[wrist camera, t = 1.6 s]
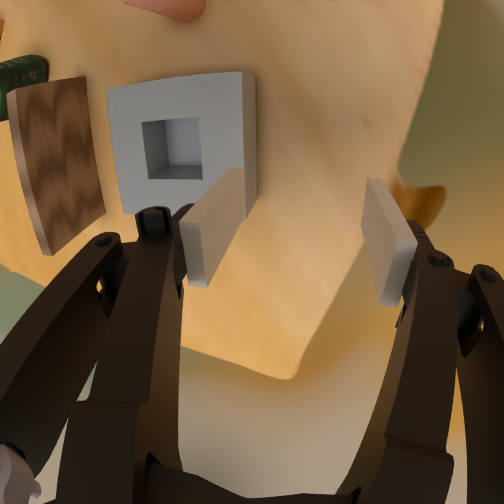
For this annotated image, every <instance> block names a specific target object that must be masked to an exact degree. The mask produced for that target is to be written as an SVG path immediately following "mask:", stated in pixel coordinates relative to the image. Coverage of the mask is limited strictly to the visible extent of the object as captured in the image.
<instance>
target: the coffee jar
mask: <svg viewBox="0 0 504 504" xmlns="http://www.w3.org/2000/svg"><path fill="white" fill-rule="evenodd" d="M46 75H47V66H46V64H45V61H44V60H43V59H42V58H40V57H38V56H35V55H27V56H22V57H18V58H14V59H11V60H8V61H4V62H1V63H0V122H2V121H6V120H9V116H8V107H7V96H6V94H7V93H9V92H11V91H12V90H14V89H17V88H21V87H26V86H30V85H35V84H40V83H45V81H46Z"/></svg>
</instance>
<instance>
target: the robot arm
mask: <svg viewBox="0 0 504 504" xmlns="http://www.w3.org/2000/svg"><path fill="white" fill-rule="evenodd" d="M244 216H245V203H244V169H243V168H229V169H228V170H227V171H226V172H225V173H224V174H223V175H222V176H221V177H220V178H219V179H218V180H217V181H216V182H215V183H214V184H213V185H212V186H211V187H210V188H209V189H208V191H207V192H206V193H205V194H204V195H203V196H202V197H201V198H200V199H199V200H198V201H197V202H196V203H189V204H187V205H185V206H183V207H181V208H180V209H179V210H178V211H177V212H176V214H174V215H173V216H172V218H171V211H170V209H169V208H168V207H165V206H153V207H148V208H145V209H142V210H141V211H139V212H137V213H136V214H135V219H136V224H137V229H138V234H139V237H138V240H137V241H136V242H127V243H121V239H120V235H119V234H118V233H116V232H104V233H100V234H99V235H97V236H95V237H94V238H92V239H91V240H90V241H89V242H88V243H87V244H86V245H85V246H84V247H83V248H82V249H81V250H80V251H79V252H78V253H77V254H76V255H75V256H74V257H73V258H72V259H71V260H70V262H69V263H68V264H67V265H66V266H65V267H64V268H63V269H62V270H61V271H60V272H59V273H58V274H57V276H56V277H55V278H54V279H53V280H52V281H51V282H50V283H49V285H48V286H47V287H46V288H45V289H44V291H42V293H41V294H40V295H39V296H38V298H37V299H36V300H35V301H34V302H33V303H32V305H31V306H30V307H29V308H28V309H27V311H26V312H25V313H24V314H23V316H22V317H21V318H20V319H19V321H18V322H17V323H16V325H15V326H14V327H13V328H12V330H11V331H10V332H9V334H8V335H7V336H6V338H5V339H4V340H3V342H2V343H1V344H0V504H28V501H29V499H30V498H33V499H35V498H38V497H39V496H40V494H41V486H40V485H39V483H38V482H37V481H36V480H34V479H35V478H36V476H37V475H38V474H39V473H40V472H41V470H42V469H43V467H44V466H45V464H46V462H47V461H48V459H49V458H50V455H51V453H52V451H53V449H54V447H55V446H56V443H57V441H58V439H59V437H60V434H61V432H62V430H63V428H64V426H65V424H66V422H67V419H68V417H69V419H68V423H67V428H66V433H65V439H64V444H63V449H62V455H61V461H60V467H59V474H58V482H57V491H56V499H54V500H52V501H49V502H47V503H44V504H445V501H446V498H447V494H448V490H449V487H450V483H451V478H452V475H453V468H454V460H453V456H452V455H450V454H449V453H447V452H446V442H447V437H448V432H449V426H450V419H451V412H452V404H453V396H454V387H455V375H456V368H457V373H458V379H459V385H460V392H461V398H462V406H463V414H464V423H465V433H466V447H467V448H466V449H467V504H504V280H503V279H502V277H501V276H500V275H499V273H498V272H497V271H495V269H494V268H492V267H490V266H488V265H483V264H477V265H475V266H474V267H473V270H472V272H471V274H468V273H465V272H461V271H458V270H456V269H454V263H453V260H452V259H451V258H450V257H449V256H448V255H446V254H445V253H443V252H440V251H438V250H435V248H434V247H433V245H432V243H431V241H430V239H428V236H427V234H426V233H425V231H424V229H423V228H422V226H420V225H419V224H418V223H417V222H415V221H411V220H405V218H404V216H403V214H402V212H401V211H400V209H399V207H398V205H397V204H396V202H395V200H394V199H393V197H392V195H391V194H390V192H389V190H388V189H387V187H386V185H385V184H384V182H383V181H382V179H375V178H368V179H367V187H366V195H365V202H364V209H363V216H362V222H361V227H362V231H363V235H364V239H365V243H366V246H367V251H368V255H369V259H370V264H371V268H372V273H373V278H374V282H375V287H376V292H377V297H378V302H379V305H382V306H398V304H399V301H400V298H401V296H403V299H404V305H403V308H402V310H401V313H400V316H399V318H398V321H397V323H396V326H395V327H396V328H397V332H396V336H395V340H394V344H393V348H392V352H391V355H390V359H389V363H388V366H387V370H386V373H385V376H384V380H383V383H382V386H381V390H380V393H379V396H378V399H377V402H376V405H375V407H374V410H373V413H372V416H371V419H370V421H369V424H368V427H367V430H366V432H365V435H364V437H363V440H362V442H361V445H360V447H359V450H358V452H357V454H356V457H355V459H354V461H353V464H352V466H351V468H350V470H349V472H348V474H347V476H346V478H345V479H344V481H343V482H342V484H341V485H340V487H339V489H338V490H337V492H336V494H335V495H327V494H307V493H301V494H294V495H286V496H276V497H265V498H245V497H242V496H239V495H237V494H235V493H232V492H230V491H228V490H226V489H224V488H222V487H220V486H218V485H216V484H213V483H211V482H209V481H207V480H206V479H204V478H201V477H200V476H197V475H194V474H190V473H187V472H183V468H182V463H181V459H180V456H179V449H178V394H179V392H178V391H179V361H180V341H181V323H182V308H183V295H184V288H183V283H182V280H183V278H184V277H185V275H186V274H187V278H188V284H189V286H197V287H204V288H207V287H208V285H209V283H210V281H211V279H212V277H213V275H214V273H215V271H216V270H217V268H218V266H219V264H220V262H221V260H222V258H223V256H224V254H225V252H226V250H227V248H228V246H229V244H230V242H231V241H232V239H233V237H234V235H235V233H236V231H237V229H238V227H239V225H240V223H241V222H242V220H243V218H244ZM98 281H100V284H101V286H102V289H101V290H100V292H98V291H97V288H96V287H97V283H98ZM483 322H484V326H483V331H482V329H481V325H482V323H483ZM97 360H98V361H97ZM96 362H97V365H96V370H95V373H94V377H93V382H92V386H91V390H90V394H89V397H88V398H87V399H86V400H85V401H77V399H78V397H79V395H80V393H81V391H82V389H83V387H84V385H85V383H86V381H87V379H88V377H89V375H90V374H91V372H92V370H93V368H94V366H95V364H96ZM76 401H77V402H76Z"/></svg>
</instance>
